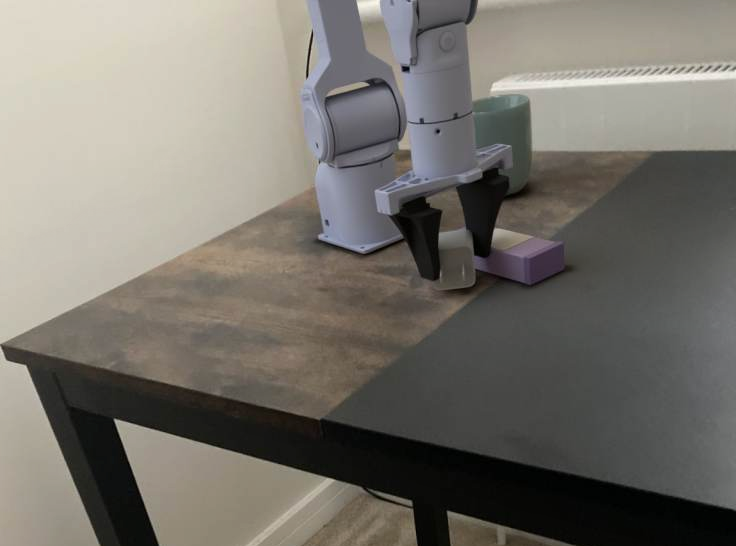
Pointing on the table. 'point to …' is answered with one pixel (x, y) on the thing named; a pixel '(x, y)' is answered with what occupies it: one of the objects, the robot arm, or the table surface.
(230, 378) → the table surface
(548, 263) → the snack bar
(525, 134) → the cup
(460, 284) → the usb wall charger
